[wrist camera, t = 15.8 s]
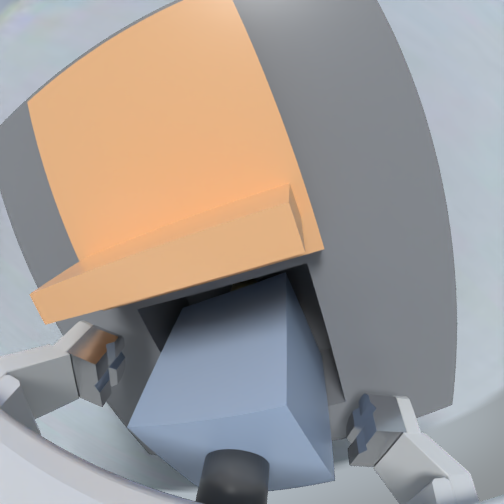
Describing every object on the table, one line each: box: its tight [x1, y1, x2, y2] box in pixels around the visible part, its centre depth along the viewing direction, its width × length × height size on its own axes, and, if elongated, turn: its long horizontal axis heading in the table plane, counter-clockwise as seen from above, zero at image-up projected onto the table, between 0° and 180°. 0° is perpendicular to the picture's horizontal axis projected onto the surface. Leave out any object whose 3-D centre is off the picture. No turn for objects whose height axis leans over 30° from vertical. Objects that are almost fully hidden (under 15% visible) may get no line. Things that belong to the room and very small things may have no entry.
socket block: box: [0, 0, 457, 455], centre depth 11 cm, size 14×16×4 cm
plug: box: [127, 272, 335, 504], centre depth 9 cm, size 4×4×8 cm
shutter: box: [27, 0, 324, 324], centre depth 6 cm, size 7×7×3 cm
